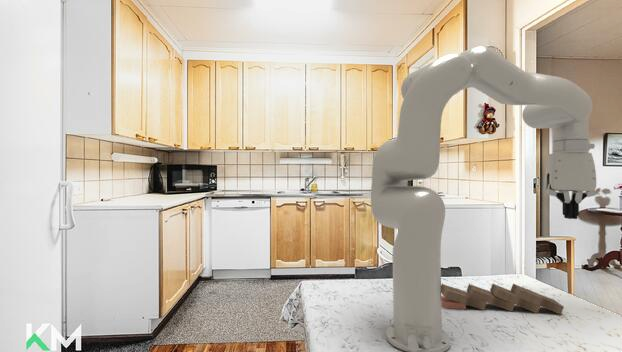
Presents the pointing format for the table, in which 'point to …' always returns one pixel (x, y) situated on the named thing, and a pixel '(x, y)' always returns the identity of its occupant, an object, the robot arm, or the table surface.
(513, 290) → the tile
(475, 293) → the tile
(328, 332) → the table surface
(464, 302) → the tile
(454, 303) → the red tile
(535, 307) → the tile
